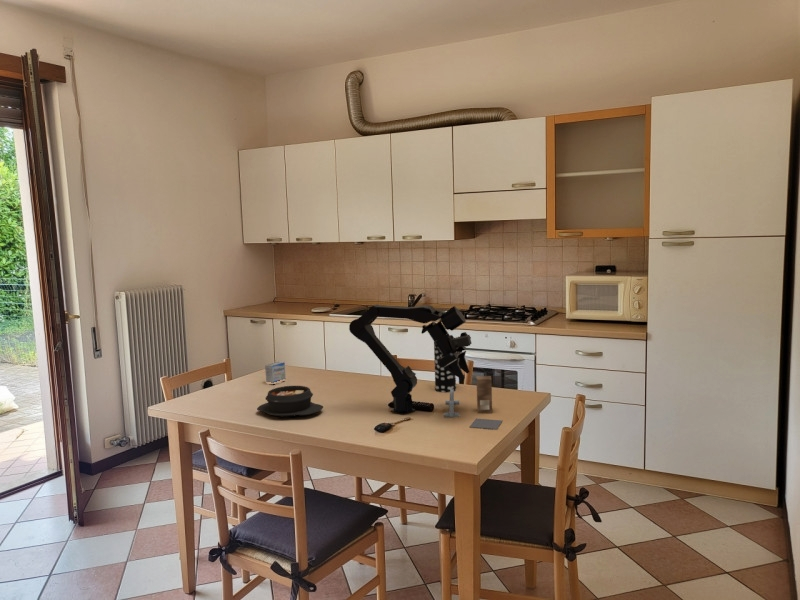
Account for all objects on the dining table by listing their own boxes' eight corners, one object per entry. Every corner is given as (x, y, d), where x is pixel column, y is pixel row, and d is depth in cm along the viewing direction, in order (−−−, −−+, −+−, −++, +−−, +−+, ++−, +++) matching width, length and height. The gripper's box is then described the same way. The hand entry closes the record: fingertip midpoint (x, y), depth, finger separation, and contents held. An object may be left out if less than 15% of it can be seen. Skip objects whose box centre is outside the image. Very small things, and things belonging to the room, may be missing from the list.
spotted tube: (453, 392, 237) (451, 343, 235) (432, 391, 240) (431, 342, 237) (458, 387, 245) (456, 339, 243) (438, 386, 247) (436, 338, 245)
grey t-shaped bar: (458, 417, 205) (458, 402, 205) (444, 417, 206) (443, 403, 205) (459, 402, 223) (458, 389, 222) (445, 402, 224) (445, 389, 223)
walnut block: (477, 413, 209) (476, 379, 208) (477, 409, 214) (476, 376, 213) (492, 413, 208) (491, 379, 207) (491, 409, 213) (490, 376, 212)
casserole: (246, 417, 214) (244, 394, 214) (276, 403, 231) (275, 382, 231) (305, 423, 204) (304, 399, 204) (333, 408, 221) (331, 386, 221)
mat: (469, 427, 194) (469, 426, 194) (476, 419, 202) (476, 418, 202) (497, 429, 191) (497, 428, 191) (502, 421, 199) (502, 420, 199)
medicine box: (273, 385, 260) (272, 365, 259) (265, 384, 263) (264, 364, 262) (286, 381, 267) (285, 362, 266) (278, 380, 269) (277, 361, 268)
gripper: (455, 329, 196) (481, 370, 195) (465, 321, 214) (489, 358, 213) (427, 347, 199) (453, 387, 198) (440, 337, 217) (463, 374, 216)
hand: (466, 375), depth 206 cm, fingers open, 9 cm apart
